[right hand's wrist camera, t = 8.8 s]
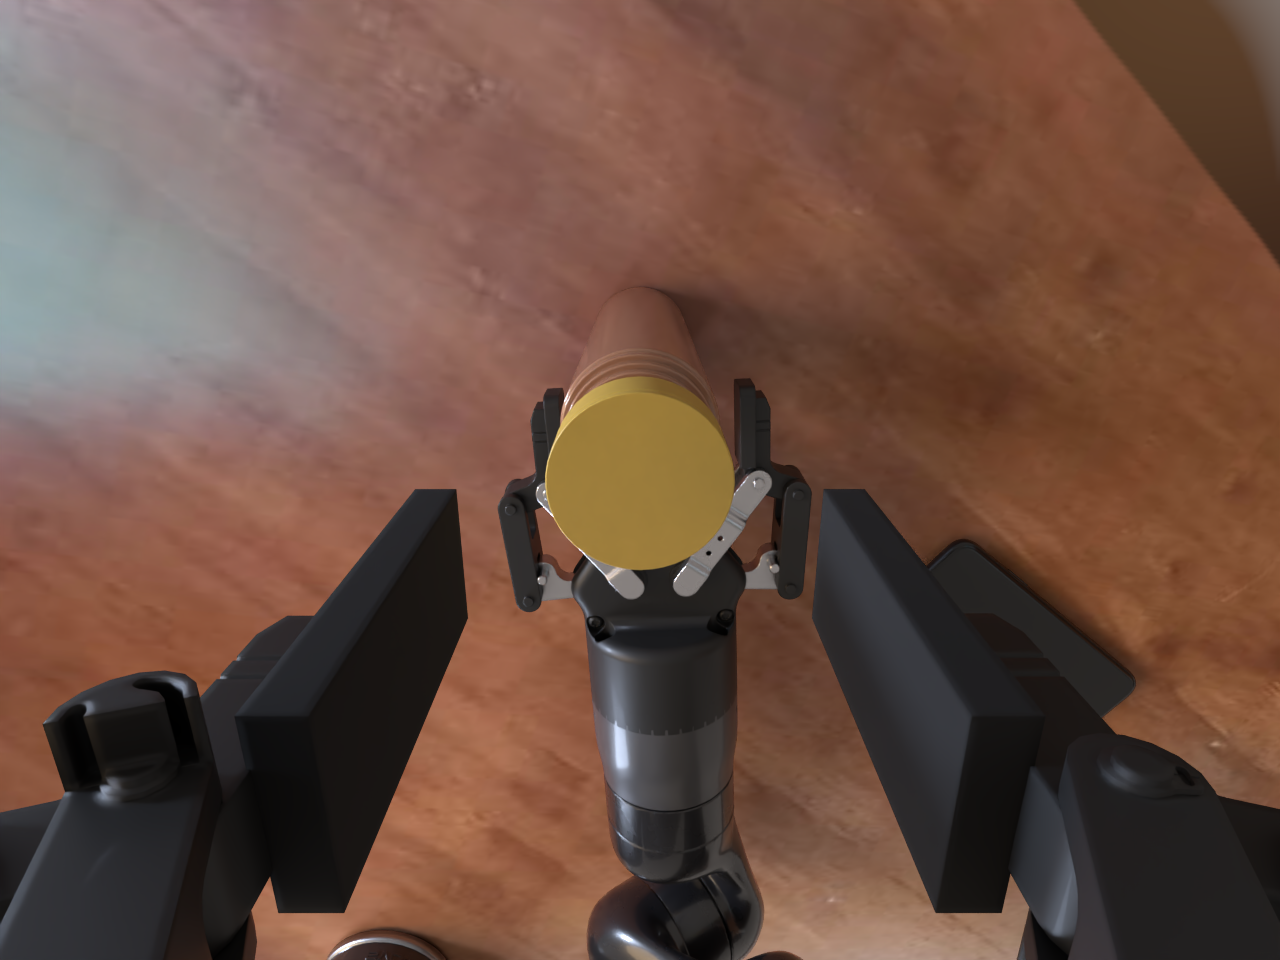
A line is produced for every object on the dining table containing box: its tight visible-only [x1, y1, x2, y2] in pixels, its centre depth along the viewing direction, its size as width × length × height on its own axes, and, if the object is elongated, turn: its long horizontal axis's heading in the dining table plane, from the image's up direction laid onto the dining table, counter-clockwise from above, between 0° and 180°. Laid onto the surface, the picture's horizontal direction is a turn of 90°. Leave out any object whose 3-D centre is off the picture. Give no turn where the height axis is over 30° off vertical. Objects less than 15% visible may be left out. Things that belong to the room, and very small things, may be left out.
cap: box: [545, 376, 735, 570], centre depth 19 cm, size 4×4×2 cm
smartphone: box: [926, 539, 1136, 718], centre depth 45 cm, size 8×1×16 cm
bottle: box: [560, 287, 720, 426], centre depth 29 cm, size 5×5×22 cm
